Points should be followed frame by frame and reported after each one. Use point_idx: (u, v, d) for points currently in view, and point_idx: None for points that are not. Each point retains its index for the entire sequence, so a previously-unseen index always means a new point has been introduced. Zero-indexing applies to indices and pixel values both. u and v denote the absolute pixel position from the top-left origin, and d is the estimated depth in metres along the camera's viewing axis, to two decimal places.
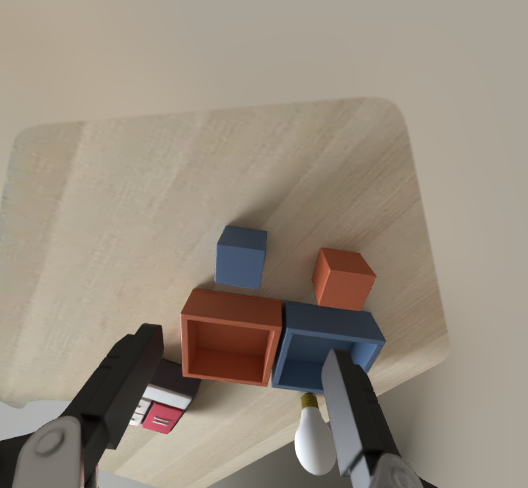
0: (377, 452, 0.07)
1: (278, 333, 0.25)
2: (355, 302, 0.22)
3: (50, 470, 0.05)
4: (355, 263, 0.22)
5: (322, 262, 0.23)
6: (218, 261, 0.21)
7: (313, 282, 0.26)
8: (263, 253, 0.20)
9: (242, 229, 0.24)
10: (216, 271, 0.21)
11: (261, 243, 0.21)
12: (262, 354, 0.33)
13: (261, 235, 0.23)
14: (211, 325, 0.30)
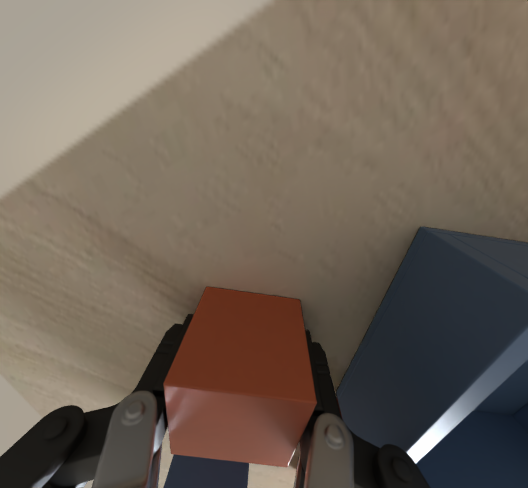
0: (319, 413, 0.07)
1: None
2: (275, 415, 0.07)
3: (140, 434, 0.06)
4: None
5: None
6: None
7: None
8: None
9: None
10: None
11: (168, 474, 0.13)
12: None
13: None
14: None
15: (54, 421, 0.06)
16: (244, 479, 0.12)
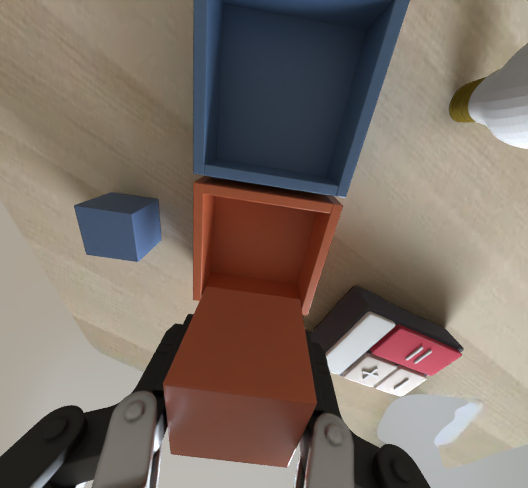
0: (319, 413, 0.07)
1: (207, 187, 0.16)
2: (275, 415, 0.07)
3: (140, 434, 0.06)
4: None
5: None
6: (106, 255, 0.19)
7: None
8: (77, 208, 0.17)
9: None
10: (120, 258, 0.19)
11: None
12: None
13: None
14: (256, 264, 0.24)
15: (54, 421, 0.06)
16: (138, 208, 0.19)
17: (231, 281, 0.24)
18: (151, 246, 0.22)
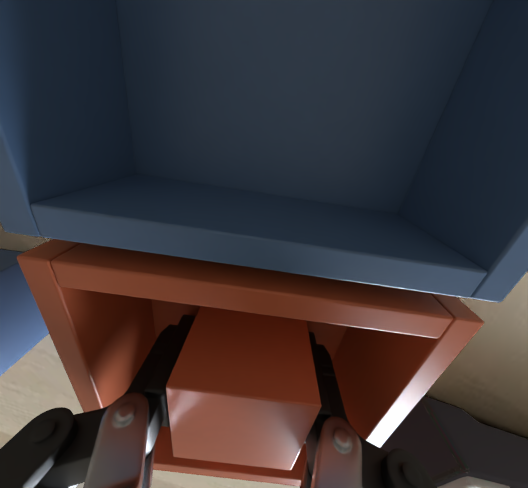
0: (326, 416, 0.07)
1: (62, 271, 0.05)
2: (279, 418, 0.07)
3: (130, 436, 0.06)
4: None
5: None
6: None
7: None
8: None
9: None
10: None
11: None
12: None
13: None
14: None
15: (42, 423, 0.06)
16: None
17: None
18: (24, 350, 0.11)
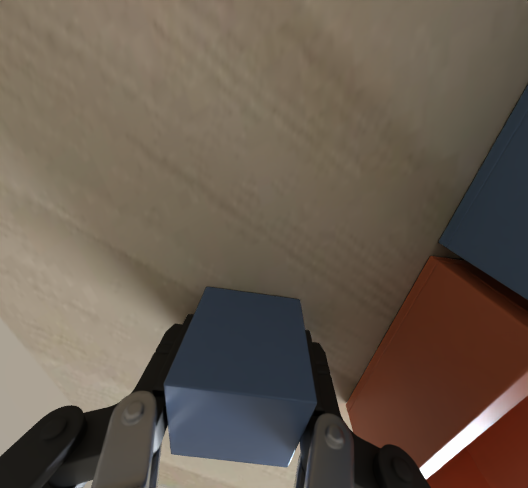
0: (319, 413, 0.07)
1: None
2: None
3: (139, 434, 0.06)
4: (510, 414, 0.09)
5: None
6: (218, 458, 0.08)
7: None
8: (173, 389, 0.06)
9: None
10: (249, 461, 0.08)
11: None
12: None
13: None
14: None
15: (54, 421, 0.06)
16: (305, 359, 0.08)
17: None
18: None
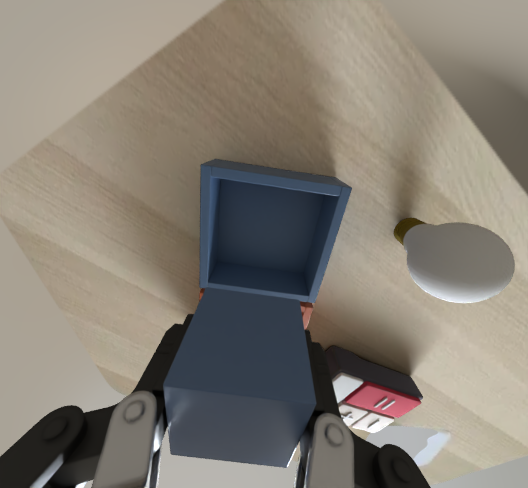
0: (319, 413, 0.07)
1: None
2: None
3: (140, 434, 0.06)
4: None
5: None
6: (218, 458, 0.08)
7: None
8: (172, 389, 0.06)
9: None
10: (248, 462, 0.08)
11: None
12: None
13: None
14: None
15: (54, 421, 0.06)
16: (304, 360, 0.08)
17: None
18: None
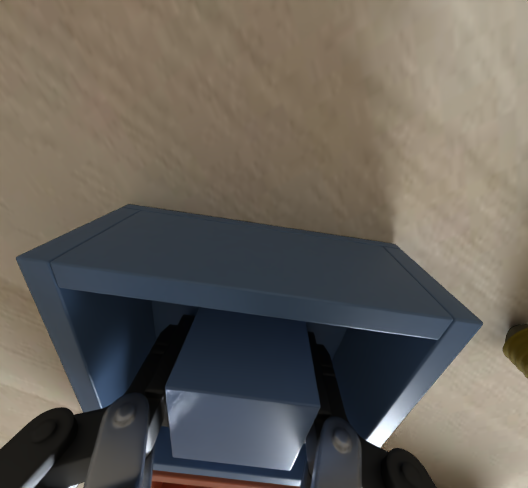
0: (325, 416, 0.07)
1: None
2: None
3: (130, 436, 0.06)
4: None
5: None
6: (220, 461, 0.08)
7: None
8: (174, 392, 0.06)
9: None
10: (250, 465, 0.08)
11: None
12: None
13: None
14: None
15: (43, 423, 0.06)
16: (308, 362, 0.08)
17: None
18: None
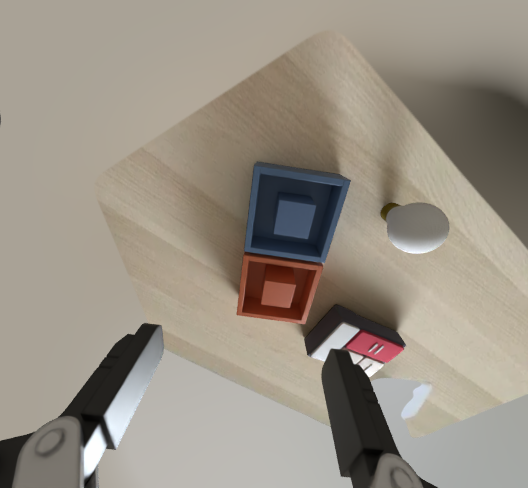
0: (377, 452, 0.07)
1: (250, 257, 0.31)
2: (287, 288, 0.32)
3: (50, 470, 0.05)
4: None
5: None
6: (287, 234, 0.28)
7: None
8: (281, 201, 0.26)
9: (275, 210, 0.31)
10: (296, 236, 0.28)
11: (278, 200, 0.28)
12: None
13: None
14: None
15: None
16: (312, 202, 0.28)
17: (257, 303, 0.38)
18: None
